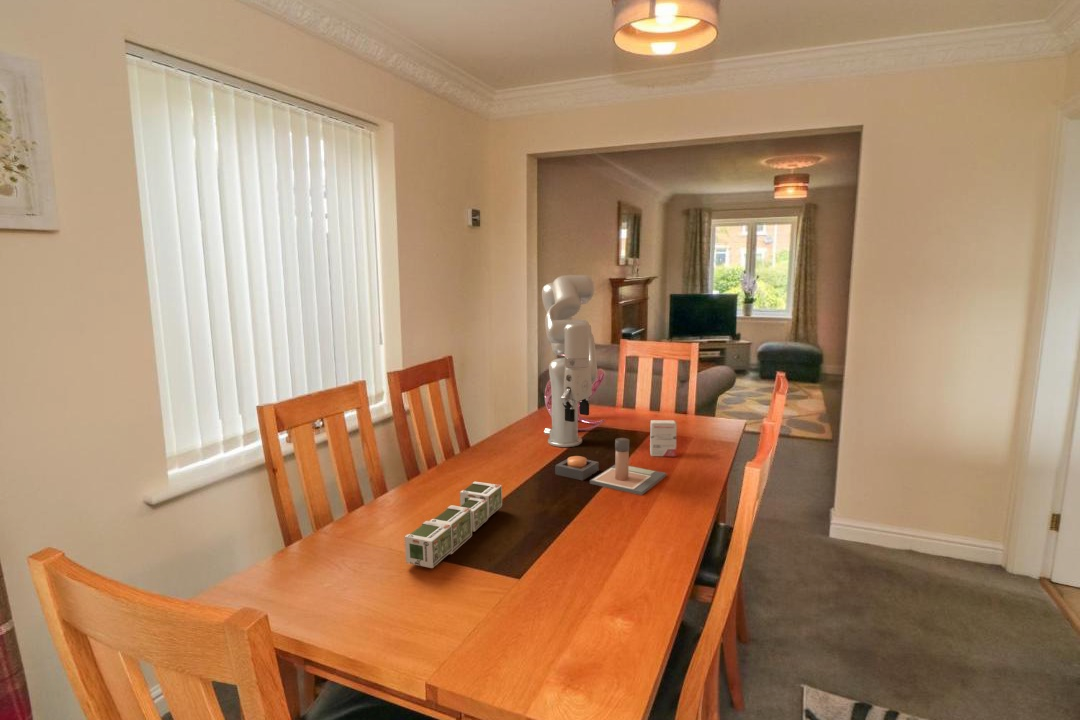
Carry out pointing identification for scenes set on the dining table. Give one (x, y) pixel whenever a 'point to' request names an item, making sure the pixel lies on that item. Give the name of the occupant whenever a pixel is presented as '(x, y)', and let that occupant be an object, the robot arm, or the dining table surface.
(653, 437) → the ink box
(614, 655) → the dining table surface
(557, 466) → the button housing
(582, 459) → the button
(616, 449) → the marker
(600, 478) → the picture board
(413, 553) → the row of white-green cartons
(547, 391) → the spiral basket
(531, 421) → the dining table surface
